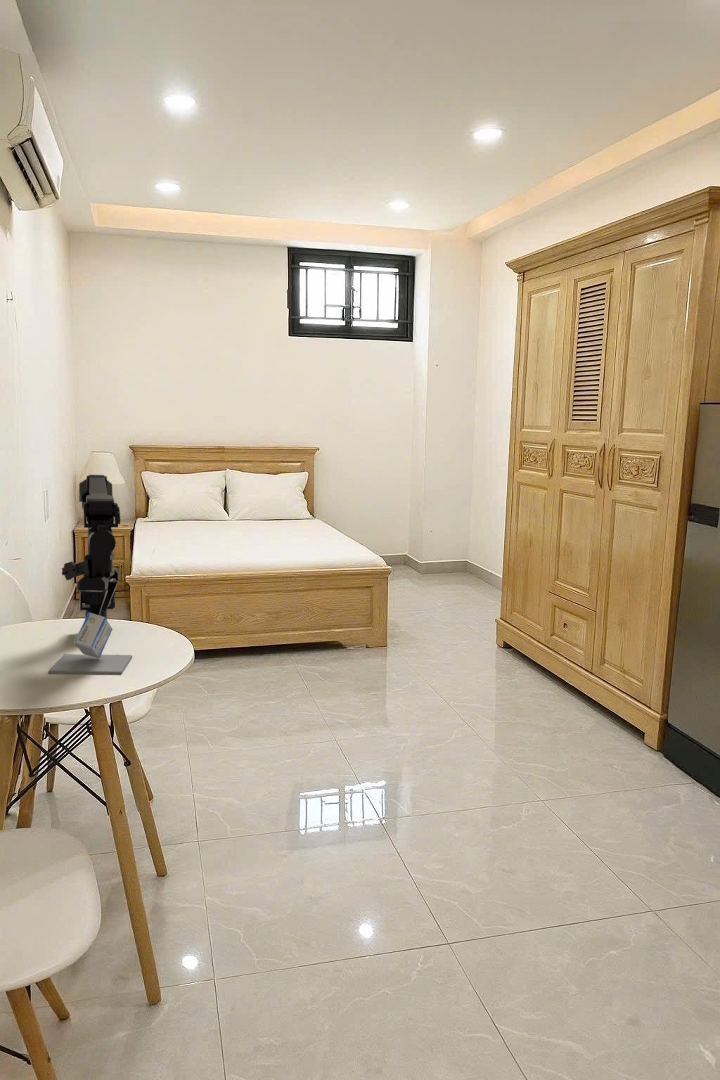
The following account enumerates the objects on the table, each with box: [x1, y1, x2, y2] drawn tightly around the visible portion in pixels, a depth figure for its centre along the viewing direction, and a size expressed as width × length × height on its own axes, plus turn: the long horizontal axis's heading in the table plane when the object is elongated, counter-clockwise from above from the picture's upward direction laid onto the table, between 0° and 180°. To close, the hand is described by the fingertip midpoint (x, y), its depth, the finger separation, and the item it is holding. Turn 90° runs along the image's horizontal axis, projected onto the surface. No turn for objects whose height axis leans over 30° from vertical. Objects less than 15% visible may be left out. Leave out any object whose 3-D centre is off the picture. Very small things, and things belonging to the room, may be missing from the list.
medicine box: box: [73, 612, 113, 658], centre depth 184 cm, size 8×4×9 cm
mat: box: [47, 653, 133, 675], centre depth 183 cm, size 13×16×1 cm
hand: (99, 614), depth 190 cm, fingers open, 9 cm apart
